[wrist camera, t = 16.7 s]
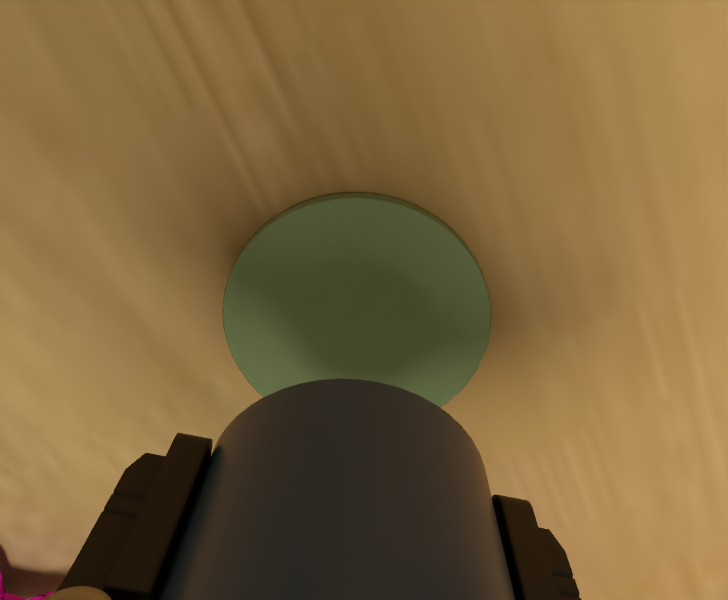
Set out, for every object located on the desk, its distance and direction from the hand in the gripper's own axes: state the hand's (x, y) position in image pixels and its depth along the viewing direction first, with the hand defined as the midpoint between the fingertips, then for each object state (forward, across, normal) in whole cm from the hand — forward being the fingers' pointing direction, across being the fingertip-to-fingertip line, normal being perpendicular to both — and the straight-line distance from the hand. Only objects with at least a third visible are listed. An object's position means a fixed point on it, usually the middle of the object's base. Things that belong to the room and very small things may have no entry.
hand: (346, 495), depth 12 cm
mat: (+8, 0, 0) cm, 8 cm away
